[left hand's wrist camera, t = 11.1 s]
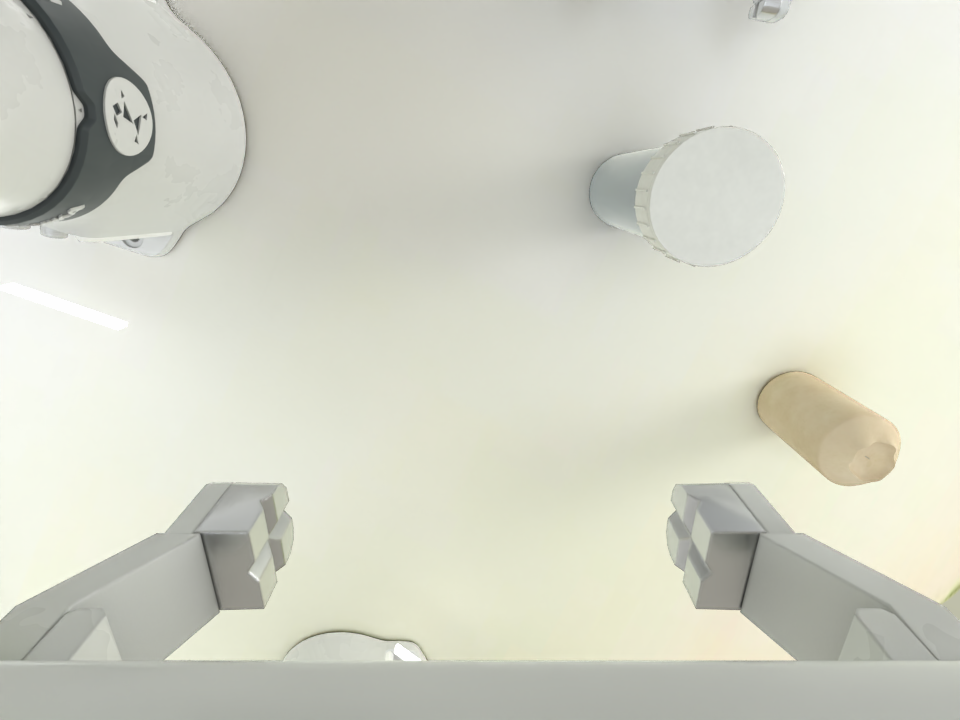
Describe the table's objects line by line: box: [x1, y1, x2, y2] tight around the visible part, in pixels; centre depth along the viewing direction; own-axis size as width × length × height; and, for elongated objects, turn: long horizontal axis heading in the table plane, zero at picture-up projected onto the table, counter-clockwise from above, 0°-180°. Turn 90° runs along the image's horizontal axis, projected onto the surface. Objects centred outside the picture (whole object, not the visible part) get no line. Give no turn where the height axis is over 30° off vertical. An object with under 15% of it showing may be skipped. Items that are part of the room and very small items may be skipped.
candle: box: [757, 371, 901, 486], centre depth 38 cm, size 6×6×10 cm
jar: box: [589, 147, 663, 237], centre depth 30 cm, size 5×5×16 cm
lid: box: [634, 126, 785, 267], centre depth 24 cm, size 6×6×2 cm
